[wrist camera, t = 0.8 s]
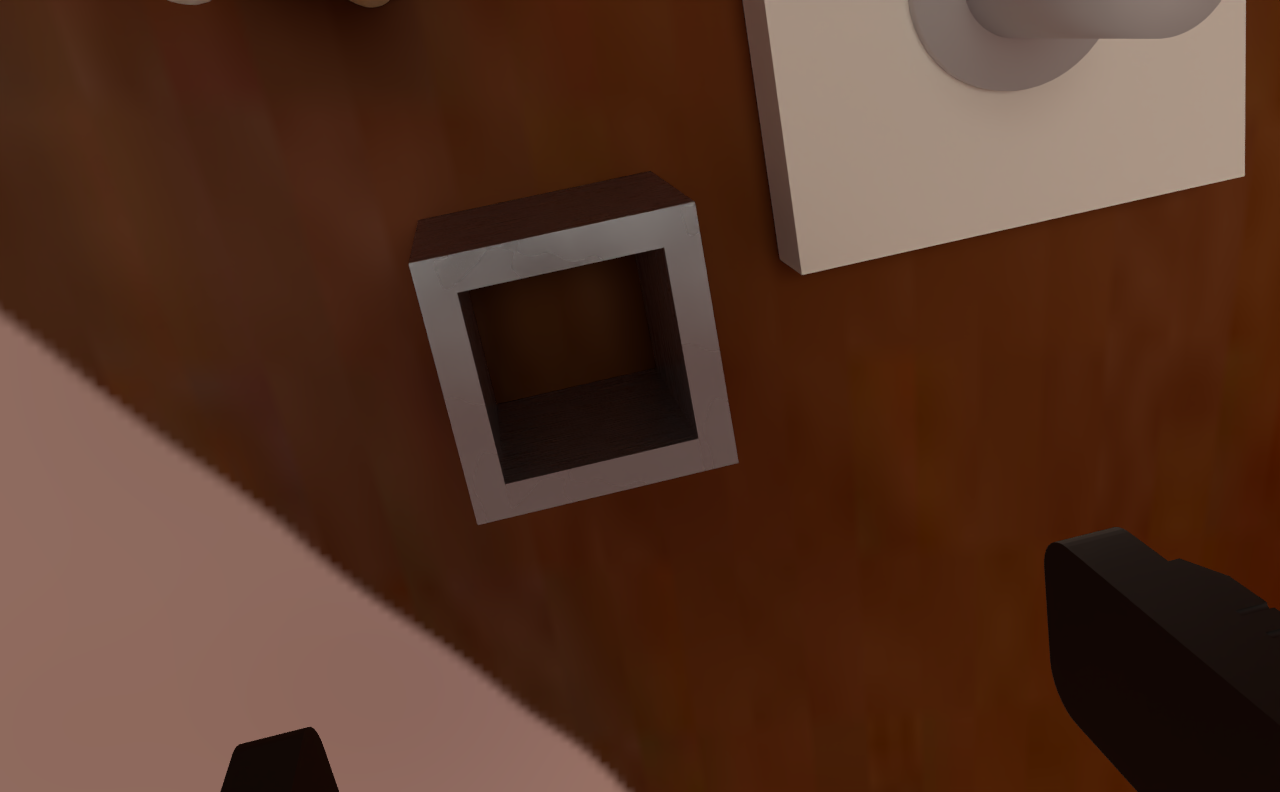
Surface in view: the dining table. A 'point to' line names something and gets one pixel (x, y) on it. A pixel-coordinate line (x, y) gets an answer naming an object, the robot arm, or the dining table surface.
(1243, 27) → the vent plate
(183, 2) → the grandmother figurine
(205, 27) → the dining table surface
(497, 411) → the collar
